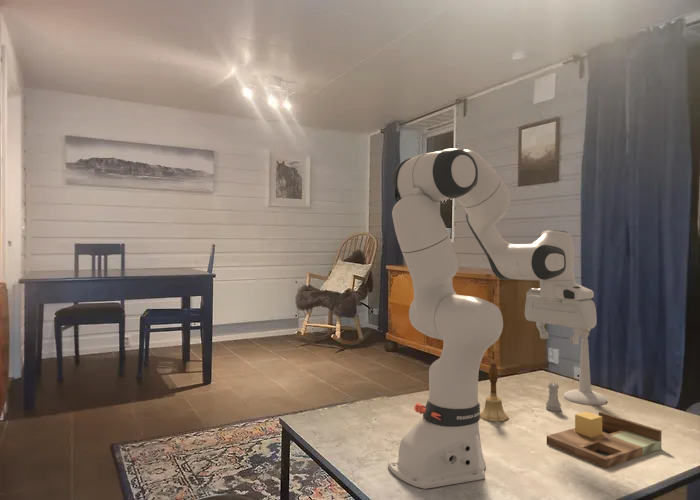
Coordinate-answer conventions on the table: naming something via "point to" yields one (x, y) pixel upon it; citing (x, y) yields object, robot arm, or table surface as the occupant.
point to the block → (588, 424)
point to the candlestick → (585, 379)
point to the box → (609, 441)
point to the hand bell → (493, 400)
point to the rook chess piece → (553, 398)
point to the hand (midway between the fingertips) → (558, 341)
